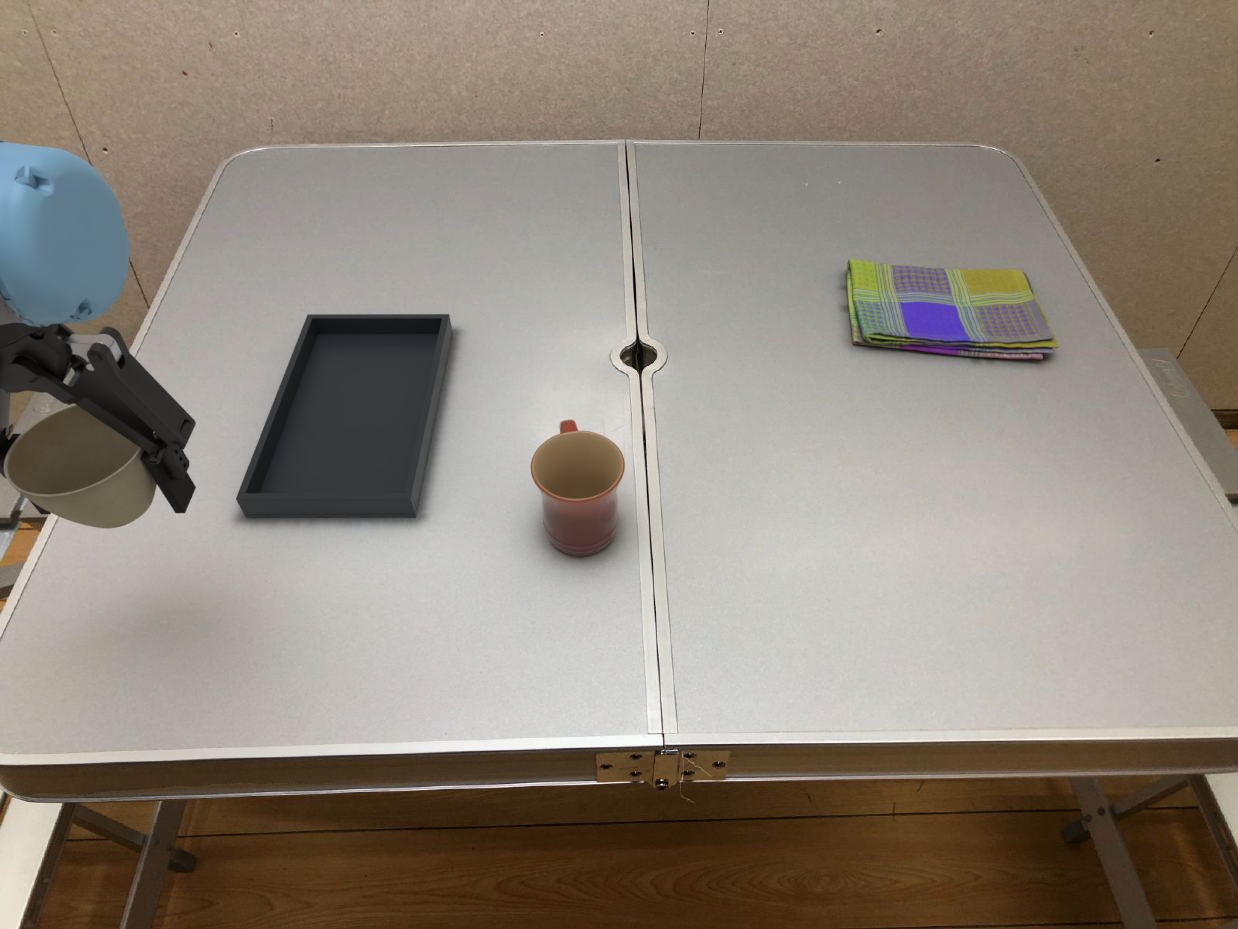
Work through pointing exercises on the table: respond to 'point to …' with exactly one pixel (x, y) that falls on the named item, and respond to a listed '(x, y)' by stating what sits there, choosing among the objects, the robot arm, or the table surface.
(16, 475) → the flower pot
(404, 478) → the tray
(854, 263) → the dish towel
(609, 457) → the mug
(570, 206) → the table surface
